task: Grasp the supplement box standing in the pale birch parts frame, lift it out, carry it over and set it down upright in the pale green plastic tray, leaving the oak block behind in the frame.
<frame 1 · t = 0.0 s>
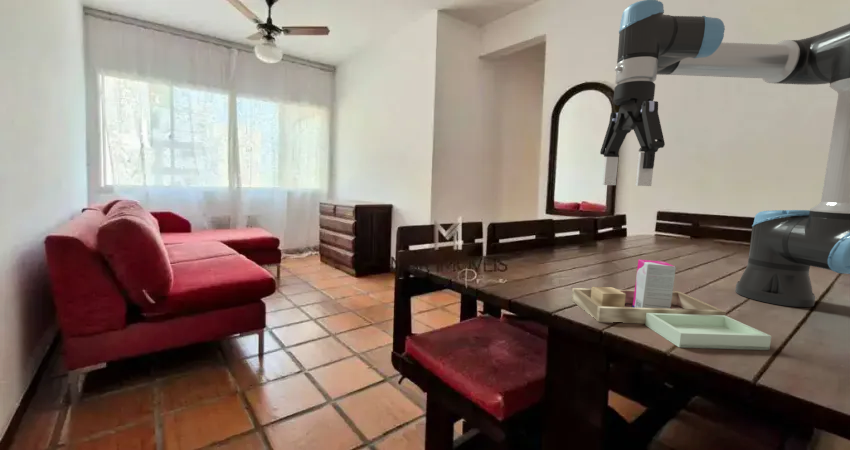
hand: (624, 185, 80), 28 cm above the table, fingers open, 13 cm apart
supplement box: (650, 313, 83), resting in parts frame
tray: (702, 336, 70), on the table
parts frame: (641, 311, 83), on the table
oak block: (606, 312, 82), resting in parts frame
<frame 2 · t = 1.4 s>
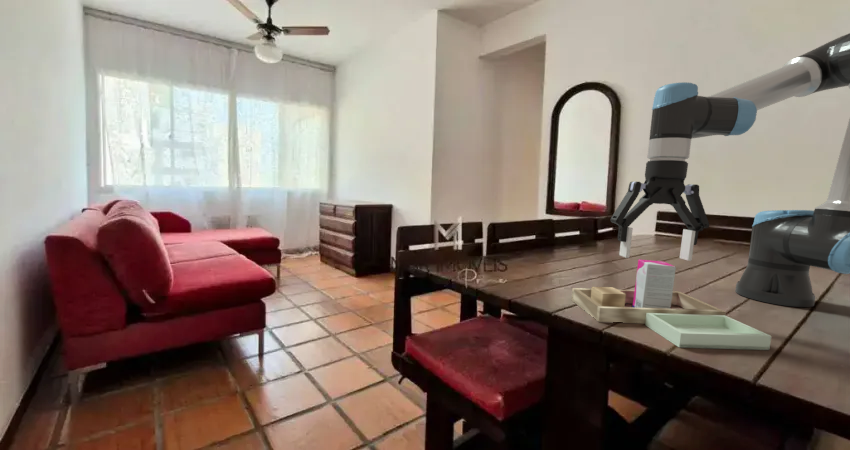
hand: (654, 258, 81), 12 cm above the table, fingers open, 13 cm apart
nothing on the table moved.
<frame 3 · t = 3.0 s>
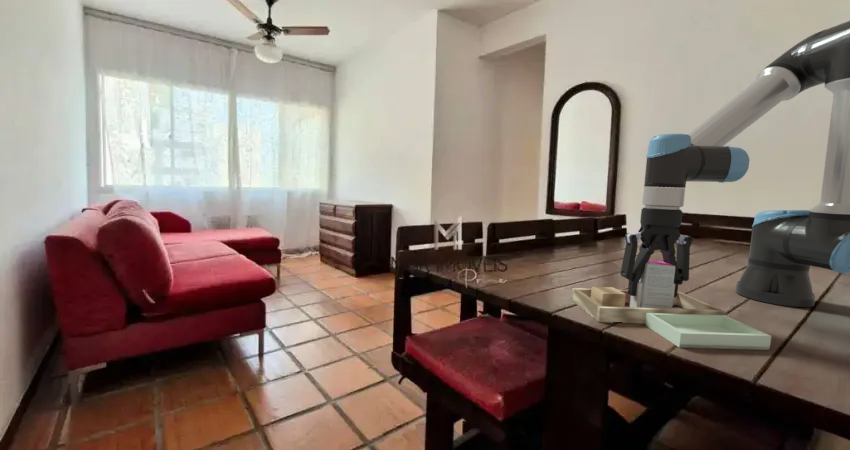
hand: (650, 310, 83), 1 cm above the table, fingers closed on supplement box, 6 cm apart
supplement box: (650, 312, 83), resting in parts frame, touching gripper
everything else where it was.
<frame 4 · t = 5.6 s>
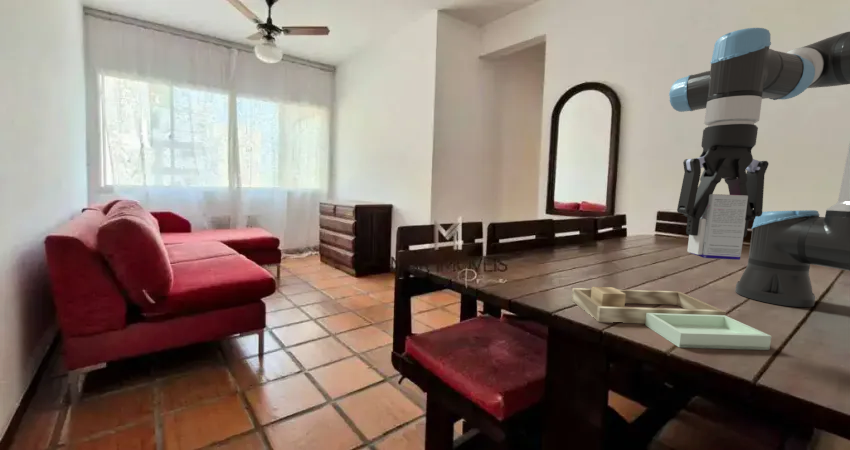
hand: (713, 253, 68), 16 cm above the table, fingers closed on supplement box, 6 cm apart
supplement box: (713, 257, 68), point 15 cm above the table, touching gripper
everything else where it was.
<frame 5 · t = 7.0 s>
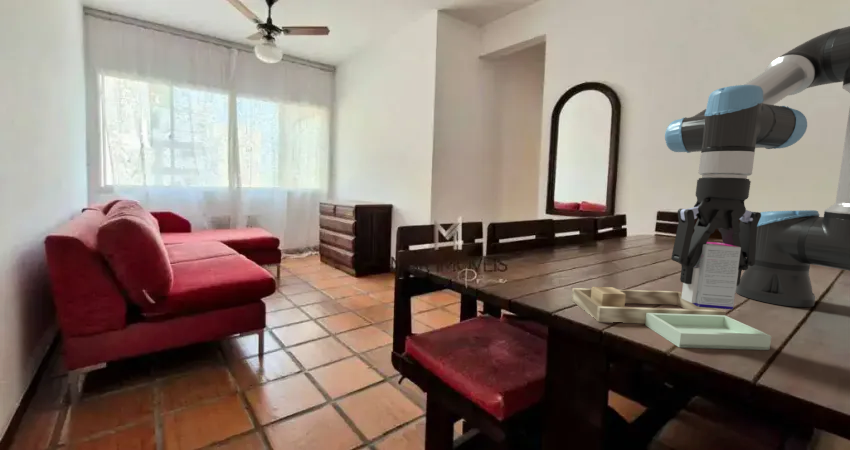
hand: (707, 301, 69), 7 cm above the table, fingers closed on supplement box, 6 cm apart
supplement box: (707, 304, 69), point 6 cm above the table, touching gripper
everything else where it was.
when the fingers open (2 cm above the table, at t = 8.3 s): supplement box drops 1 cm, resting on tray.
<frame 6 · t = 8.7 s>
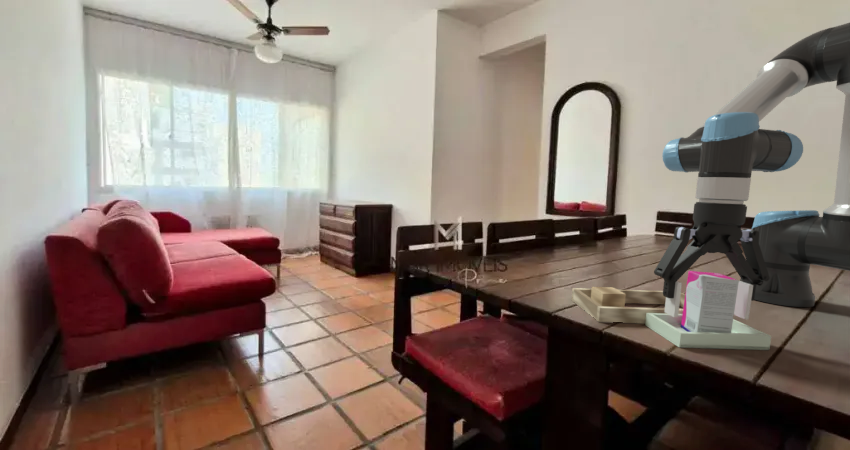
hand: (705, 315, 69), 4 cm above the table, fingers open, 12 cm apart
supplement box: (704, 334, 70), resting on tray
everything else where it was.
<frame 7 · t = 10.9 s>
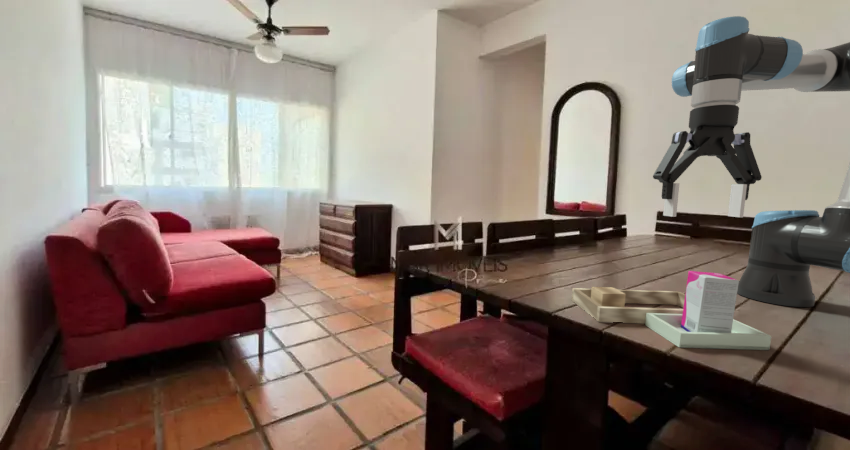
hand: (702, 216, 74), 22 cm above the table, fingers open, 13 cm apart
nothing on the table moved.
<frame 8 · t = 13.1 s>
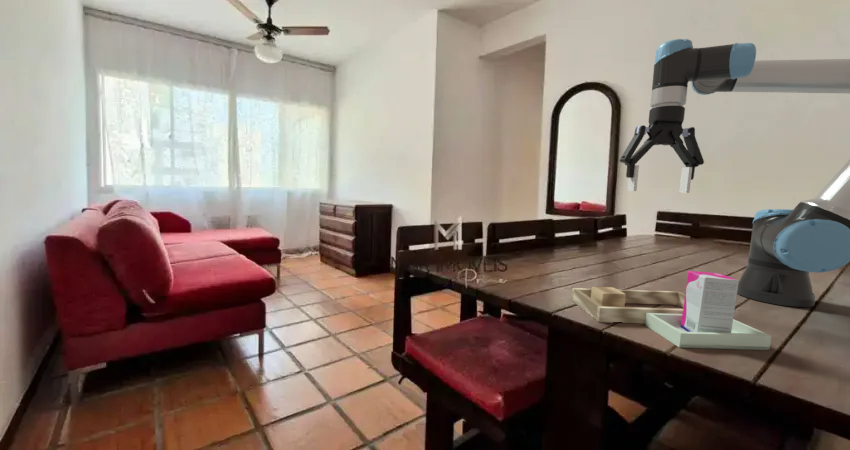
hand: (658, 191, 96), 27 cm above the table, fingers open, 13 cm apart
nothing on the table moved.
at the end: supplement box inside the target area on the tray (0.2 cm from its centre), point 0.4 cm above the tray's base; supplement box tilted 0°; the gripper is holding nothing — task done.
